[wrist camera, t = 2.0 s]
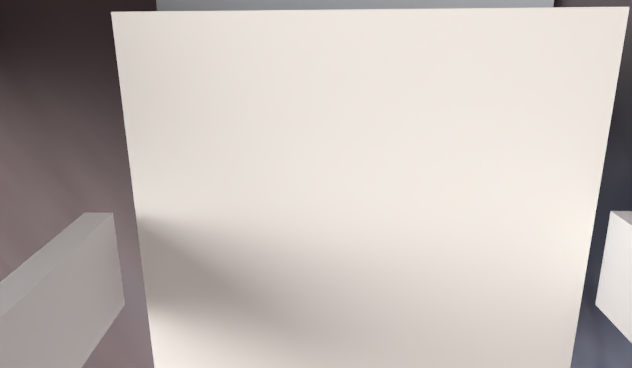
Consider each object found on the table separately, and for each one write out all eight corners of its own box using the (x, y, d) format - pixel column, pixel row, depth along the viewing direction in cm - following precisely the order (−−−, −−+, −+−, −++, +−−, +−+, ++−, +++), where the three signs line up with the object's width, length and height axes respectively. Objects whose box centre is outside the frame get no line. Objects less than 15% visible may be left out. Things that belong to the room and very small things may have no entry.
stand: (156, -49, 19) (83, -73, 13) (554, -54, 19) (652, -80, 13) (192, 338, 24) (151, 440, 18) (507, 339, 24) (563, 443, 18)
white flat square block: (133, 11, 14) (111, 11, 13) (598, 6, 14) (629, 6, 12) (175, 392, 18) (161, 426, 16) (540, 394, 18) (560, 428, 16)
